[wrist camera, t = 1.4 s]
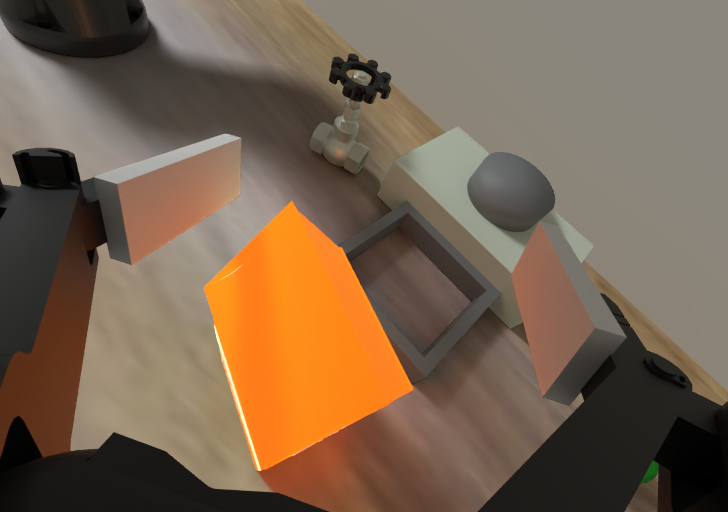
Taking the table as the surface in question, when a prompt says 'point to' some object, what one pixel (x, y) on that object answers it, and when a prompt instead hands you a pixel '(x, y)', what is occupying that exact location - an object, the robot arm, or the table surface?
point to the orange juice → (299, 340)
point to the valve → (350, 113)
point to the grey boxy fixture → (463, 230)
